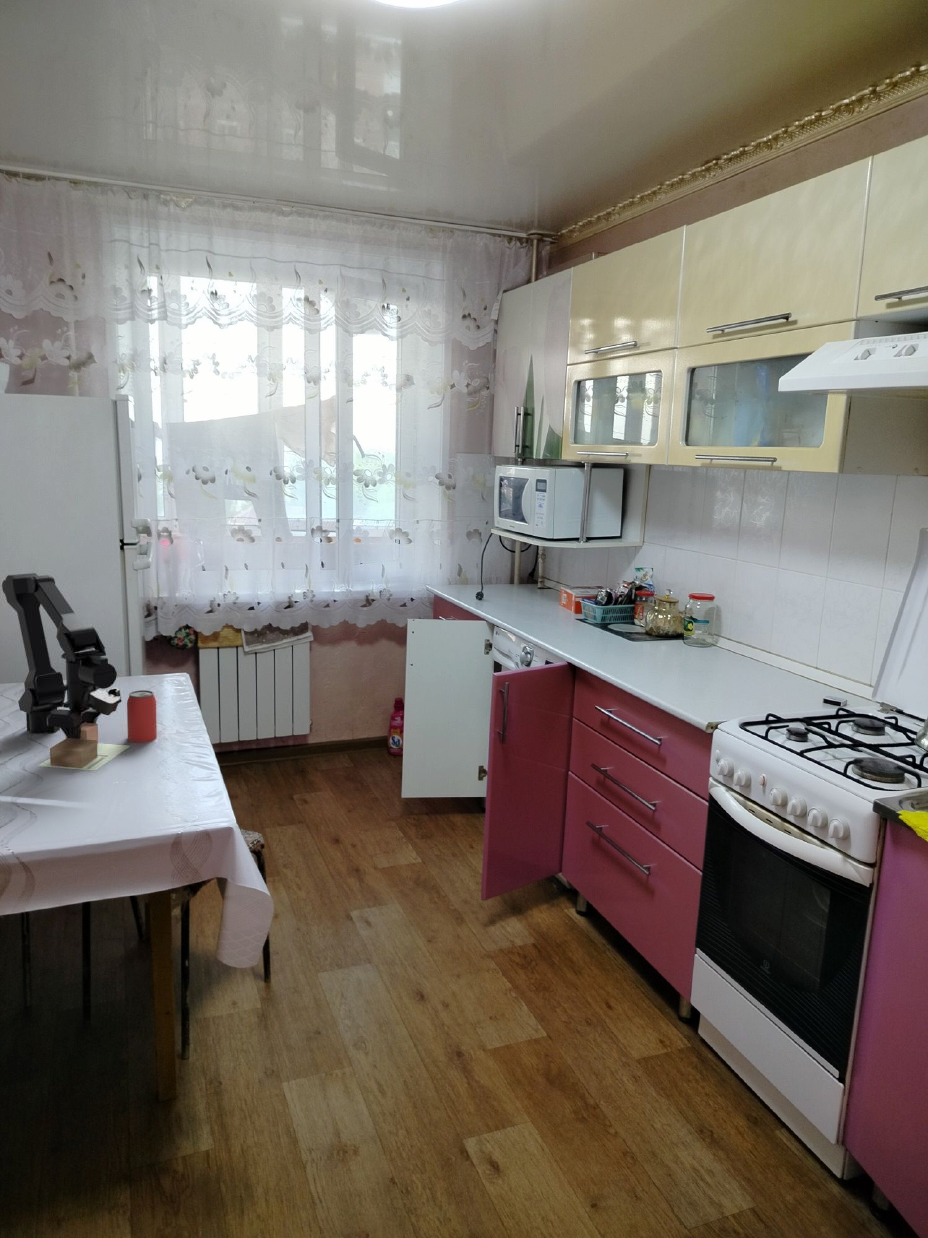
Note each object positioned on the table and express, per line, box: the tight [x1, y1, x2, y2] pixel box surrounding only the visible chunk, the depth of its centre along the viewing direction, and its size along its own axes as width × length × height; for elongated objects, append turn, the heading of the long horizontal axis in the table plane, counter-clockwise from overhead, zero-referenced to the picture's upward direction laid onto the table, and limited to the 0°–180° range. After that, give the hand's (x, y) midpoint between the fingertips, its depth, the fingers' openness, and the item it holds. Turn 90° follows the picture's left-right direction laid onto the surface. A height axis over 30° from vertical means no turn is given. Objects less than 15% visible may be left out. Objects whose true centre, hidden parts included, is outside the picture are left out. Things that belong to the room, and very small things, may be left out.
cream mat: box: [38, 742, 130, 771], centre depth 192 cm, size 13×16×1 cm
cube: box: [65, 723, 99, 745], centre depth 197 cm, size 5×5×5 cm
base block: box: [49, 737, 98, 768], centre depth 188 cm, size 7×7×4 cm
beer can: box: [126, 689, 158, 743], centre depth 205 cm, size 7×7×12 cm
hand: (82, 744), depth 197 cm, fingers open, 5 cm apart
